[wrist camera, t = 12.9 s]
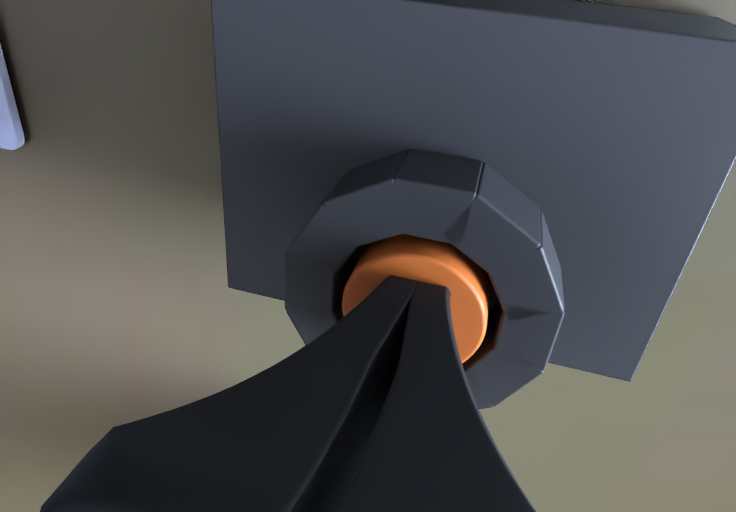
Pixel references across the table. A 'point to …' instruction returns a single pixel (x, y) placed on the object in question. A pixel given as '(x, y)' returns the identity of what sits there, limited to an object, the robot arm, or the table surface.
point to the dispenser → (477, 160)
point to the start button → (427, 281)
